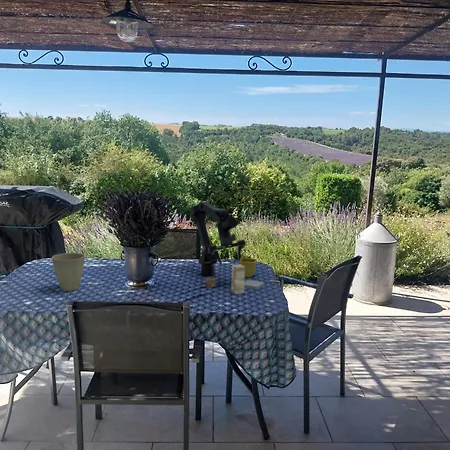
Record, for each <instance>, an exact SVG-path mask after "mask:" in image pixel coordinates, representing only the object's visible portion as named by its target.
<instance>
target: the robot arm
mask: <svg viewBox="0 0 450 450" xmlns="http://www.w3.org/2000/svg"><path fill="white" fill-rule="evenodd" d="M207 214H209V215H210V216H211V218H212V219H213V220H214V221H215V222H216V224H215V225H214V227H215V228H216V229H217V233H218V238H219V242H220V245H218V246H217V245H216V244H214V245H212V244H211V243H212V242H211V240H210V236H209V232H208V229H207V224H206V222H205V221H206V217H207ZM189 216H190V217H191V221H192V222H193V223H195V225H196V229H197V232H198V236H199V240H200V244H201V246H202V247H201V252H200V257H199V258H198V264H200V267H201V269H200V271H201V272H200V273H199V276H206V277H211V276H213V275H216V272H215V267H216V266H215V265H216V264H217V262H219V264H220V265H221V266H222V265H223V263H222V260H221V256H220V254H219V250H225V249H231V248H235V247H236V253H237V259H238V262H239V261H240V259H241V253H242V249H244V248H245V247H246V245H247V242H246V240H245V239H241V240H237V238H236V234H235V233H232V234H231V233H230V231H231V230H233V229H234V228H236V227H237V226H238V223H239V221H238V220H237V219H236V217H235V216H234V215H233V214H230V213H229V212H228V210H227V209H225V208H218V207H216V206H214V205H212V204H210V203H209V202H208V201H200V202H198V203H197V204H196V205H195V206H193V207H192V208H191V209H190V210H189ZM234 241H236V242H234ZM233 242H234V243H233Z"/></svg>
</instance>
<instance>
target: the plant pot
mask: <svg viewBox="0 0 450 450" xmlns="http://www.w3.org/2000/svg"><path fill="white" fill-rule="evenodd" d="M85 259H86V255H85V254H84V253H80V252H66V253H59V254H55V255H53V256H52V257H51V260H52V261H51V262H52V265H53V266H52V267H53V270H54V273H55V277H56V279H57V281H58V284H59V286H60V289H61V290H62V291H65V292H71V291H76V290H78V289H79V287H80V284H81V280H82V276H83V273H84V268H85V262H86V261H85Z"/></svg>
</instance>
